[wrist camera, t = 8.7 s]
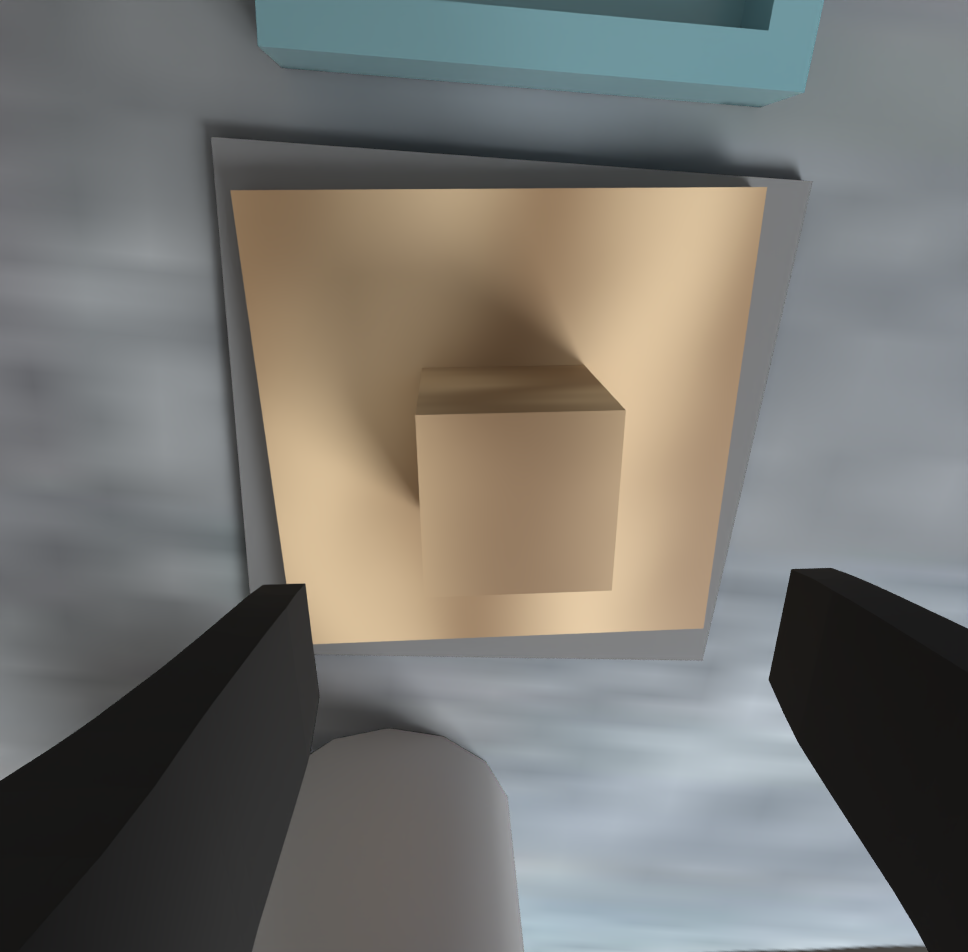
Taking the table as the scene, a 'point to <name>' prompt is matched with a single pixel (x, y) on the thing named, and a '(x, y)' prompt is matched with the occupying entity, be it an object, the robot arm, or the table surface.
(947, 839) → the robot arm
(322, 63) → the teal dish
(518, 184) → the rubber mat
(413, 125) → the table surface
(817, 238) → the table surface
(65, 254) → the table surface
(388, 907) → the cup
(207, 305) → the table surface
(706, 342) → the oak cover
